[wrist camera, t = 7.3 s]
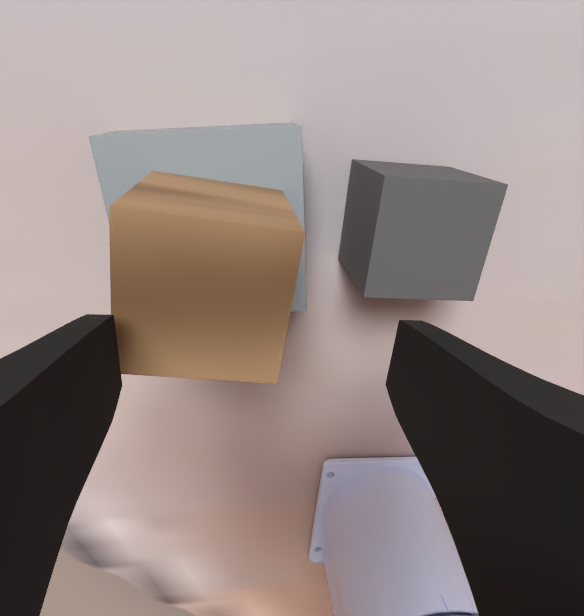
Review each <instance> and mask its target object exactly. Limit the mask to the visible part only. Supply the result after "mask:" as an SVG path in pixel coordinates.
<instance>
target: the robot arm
mask: <svg viewBox="0 0 584 616" xmlns="http://www.w3.org/2000/svg"><path fill="white" fill-rule="evenodd" d="M386 387H387V390H388V393H389V397H390V400H391V403H392V406H393V409H394V412H395V414H396V417H397V419H398V421H399V423H400V425H401V427H402V429H403V431H404V433H405V435H406V437H407V440H408V442H409V444H410V445H411V447H412V449H413V451H414V453H415V455H416V457H380V458H341V459H328V460H326V461H325V462H324V463H323V465H322V471H321V478H320V484H319V491H318V497H317V503H316V510H315V516H314V522H313V529H312V535H311V542H310V548H309V560H310V561H311V562H313V563H321V562H324V567H325V572H326V578H327V583H328V588H329V594H330V599H331V604H332V610H333V615H334V616H584V395H581V394H578V393H575V392H573V391H570V390H568V389H565V388H563V387H560V386H558V385H555V384H553V383H550V382H548V381H545V380H543V379H541V378H538V377H536V376H534V375H532V374H529V373H527V372H525V371H523V370H521V369H519V368H517V367H514V366H512V365H510V364H508V363H506V362H504V361H502V360H500V359H498V358H496V357H494V356H492V355H490V354H488V353H486V352H484V351H482V350H480V349H478V348H477V347H475V346H473V345H471V344H469V343H467V342H465V341H463V340H461V339H459V338H458V337H456V336H454V335H452V334H450V333H448V332H446V331H444V330H442V329H440V328H438V327H436V326H434V325H431V324H429V323H426V322H424V321H412V320H399V324H398V328H397V333H396V338H395V343H394V347H393V352H392V357H391V362H390V366H389V371H388V376H387V381H386ZM121 388H122V379H121V371H120V362H119V354H118V345H117V336H116V328H115V319H114V315H89V314H87V315H85V316H82V317H80V318H78V319H76V320H74V321H72V322H70V323H68V324H66V325H64V326H62V327H60V328H58V329H56V330H55V331H53V332H51V333H49V334H47V335H45V336H43V337H42V338H40V339H38V340H36V341H34V342H32V343H30V344H29V345H27V346H25V347H23V348H21V349H19V350H17V351H15V352H13V353H11V354H9V355H7V356H5V357H3V358H1V359H0V616H39V615H40V612H41V608H42V605H43V602H44V598H45V595H46V591H47V588H48V585H49V582H50V579H51V575H52V572H53V569H54V565H55V562H56V559H57V556H58V553H59V550H60V547H61V544H62V541H63V538H64V535H65V531H66V528H67V525H68V522H69V520H70V517H71V515H72V512H73V510H74V507H75V504H76V502H77V500H78V498H79V495H80V493H81V491H82V489H83V486H84V484H85V482H86V480H87V477H88V475H89V473H90V471H91V468H92V466H93V464H94V462H95V459H96V457H97V455H98V453H99V450H100V448H101V446H102V443H103V441H104V439H105V437H106V434H107V432H108V430H109V427H110V425H111V423H112V420H113V417H114V413H115V410H116V406H117V403H118V399H119V395H120V391H121ZM329 472H331V473H329ZM436 498H437V500H438V502H439V504H440V507H441V509H442V512H443V514H444V517H445V519H444V517H443V515H442V513H441V511H440V509H439V507H438V505H437V503H436V501H435V500H436ZM445 520H446V521H445ZM446 522H447V523H446Z"/></svg>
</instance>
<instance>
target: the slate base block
mask: <svg viewBox="0 0 584 616" xmlns="http://www.w3.org/2000/svg"><path fill="white" fill-rule="evenodd" d="M89 140H90V144H91V148H92V153H93V157H94V161H95V165H96V170H97V174H98V178H99V182H100V186H101V191H102V195H103V199H104V203H105V208H106V212H107V216H108V220H109V206H110V205H111V204H112V203H114V202H115V201H116V200H117V199H118V198H120V197H121V196H122V195H123V194H125V193H126V192H127V191H128V190H130V189H131V188H132V187H133V186H134V185H136V184H137V183H138V182H139V181H141V180H142V179H143V178H144V177H146V176H147V175H148V174H149V173H151V172H152V171H157V172H164V173H171V174H177V175H184V176H191V177H197V178H204V179H211V180H217V181H224V182H231V183H237V184H244V185H250V186H257V187H264V188H270V189H277V190H283V192H284V194H285V196H286V198H287V200H288V201H289V203H290V205H291V207H292V209H293V210H294V212H295V214H296V216H297V218H298V220H299V221H300V223H301V225H302V227H303V229H304V193H303V156H302V126H299V125H296V124H293V123H272V124H252V125H231V126H210V127H190V128H169V129H148V130H127V131H114V132H109V133H104V134H100V135H95V136H90V137H89ZM109 224H110V220H109ZM306 310H307V304H306V267H305V237H304V242H303V248H302V253H301V259H300V264H299V270H298V275H297V280H296V286H295V291H294V297H293V302H292V308H291V312H295V311H306Z"/></svg>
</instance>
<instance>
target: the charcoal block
mask: <svg viewBox="0 0 584 616" xmlns="http://www.w3.org/2000/svg"><path fill="white" fill-rule="evenodd" d="M507 186H508V185H507V184H504V183H501V182H498V181H494V180H491V179H488V178H484V177H481V176H478V175H474V174H471V173H468V172H464V171H461V170H458V169H455V168H451V167H442V166H430V165H417V164H404V163H391V162H378V161H366V160H353V159H352V165H351V172H350V179H349V186H348V193H347V201H346V208H345V215H344V222H343V229H342V236H341V244H340V251H339V258H338V259H339V260H340V262H341V263H342V265H343V266H344V268H345V269H346V271H347V273H348V274H349V276H350V277H351V279H352V280H353V282H354V283H355V285H356V286H357V288H358V290H359V291H360V293H361V294H362V296H363V297H364V298H393V299H426V300H459V301H473V300H474V296H475V293H476V290H477V286H478V283H479V280H480V276H481V273H482V270H483V266H484V263H485V260H486V256H487V253H488V250H489V246H490V243H491V240H492V236H493V233H494V230H495V226H496V223H497V220H498V216H499V213H500V210H501V206H502V203H503V200H504V196H505V193H506V190H507Z"/></svg>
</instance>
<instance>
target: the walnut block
mask: <svg viewBox="0 0 584 616" xmlns="http://www.w3.org/2000/svg"><path fill="white" fill-rule="evenodd" d="M109 220H110V279H111V315H114V319H115V328H116V336H117V345H118V354H119V362H120V371H121V374H132V375H148V376H163V377H179V378H194V379H210V380H225V381H241V382H256V383H271V384H278V378H279V373H280V367H281V362H282V356H283V351H284V346H285V340H286V335H287V329H288V324H289V318H290V313H291V308H292V302H293V297H294V291H295V286H296V280H297V275H298V270H299V264H300V259H301V253H302V248H303V242H304V237H305V230H304V229H303V227H302V225H301V223H300V221H299V220H298V218H297V216H296V214H295V212H294V210H293V209H292V207H291V205H290V203H289V201H288V200H287V198H286V196H285V194H284V192H283V190H277V189H270V188H264V187H257V186H250V185H244V184H237V183H231V182H224V181H217V180H211V179H204V178H197V177H191V176H184V175H177V174H171V173H164V172H157V171H152V172H151V173H149V174H148V175H147V176H146V177H144V178H143V179H142V180H141V181H139V182H138V183H137V184H136V185H134V186H133V187H132V188H131V189H130V190H128V191H127V192H126V193H125V194H123V195H122V196H121V197H120V198H118V199H117V200H116V201H115V202H114V203H112V204H111V205H110V206H109Z"/></svg>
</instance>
